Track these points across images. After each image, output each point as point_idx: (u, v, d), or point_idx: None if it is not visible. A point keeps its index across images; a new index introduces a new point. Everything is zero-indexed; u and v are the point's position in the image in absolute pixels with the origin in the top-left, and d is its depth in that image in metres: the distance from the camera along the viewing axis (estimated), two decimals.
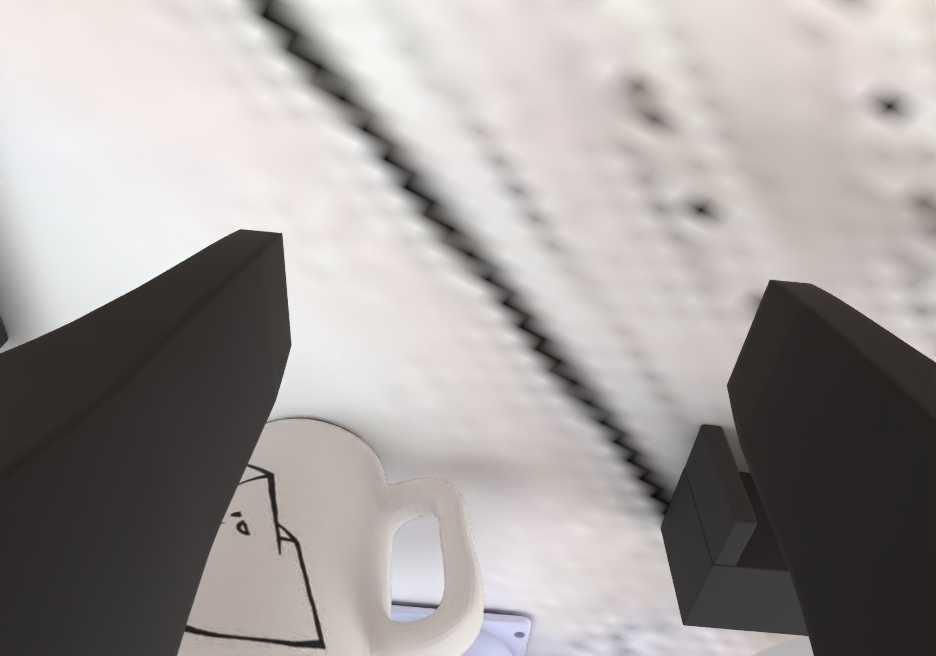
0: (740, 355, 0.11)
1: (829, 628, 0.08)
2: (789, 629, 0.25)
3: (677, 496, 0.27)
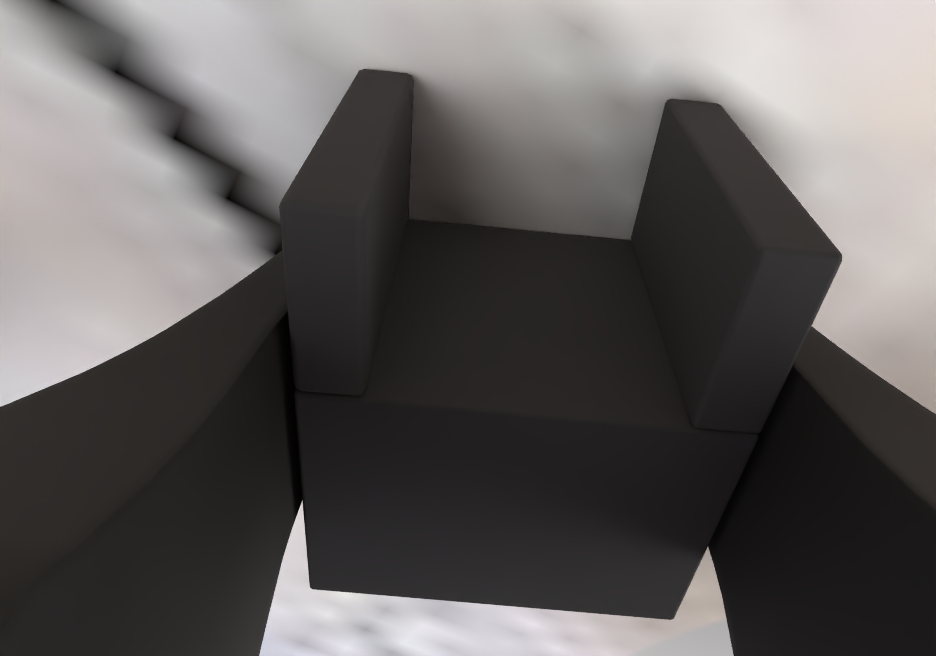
0: None
1: (745, 621, 0.08)
2: (585, 599, 0.10)
3: None
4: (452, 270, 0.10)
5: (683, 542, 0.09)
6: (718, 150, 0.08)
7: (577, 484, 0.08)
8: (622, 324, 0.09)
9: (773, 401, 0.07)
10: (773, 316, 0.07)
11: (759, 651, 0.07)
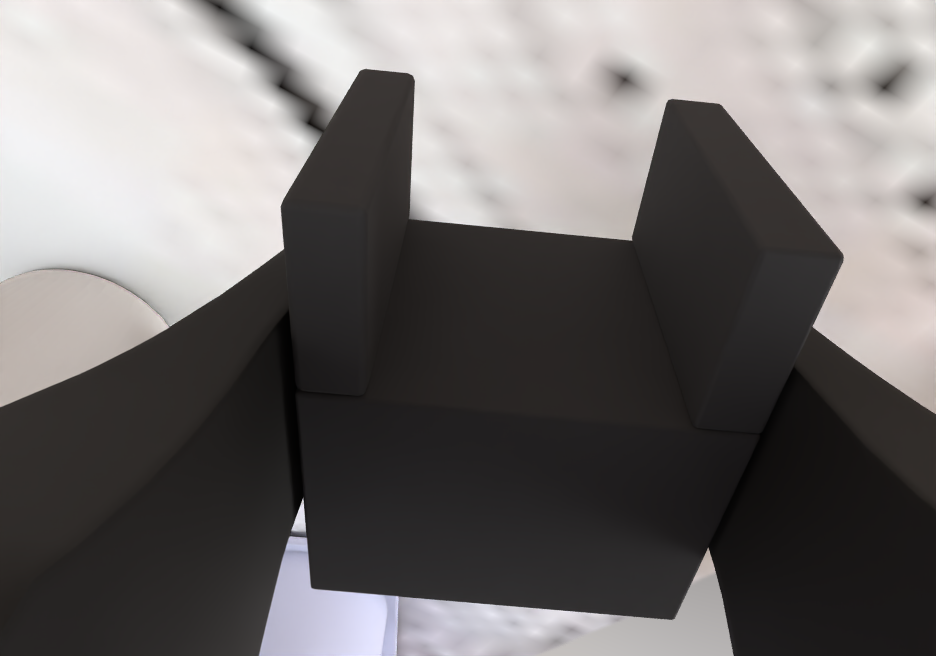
0: None
1: (745, 621, 0.08)
2: (586, 599, 0.10)
3: None
4: (453, 270, 0.10)
5: (684, 542, 0.09)
6: (719, 150, 0.08)
7: (578, 485, 0.08)
8: (623, 324, 0.09)
9: (774, 401, 0.07)
10: (774, 316, 0.07)
11: (759, 651, 0.07)
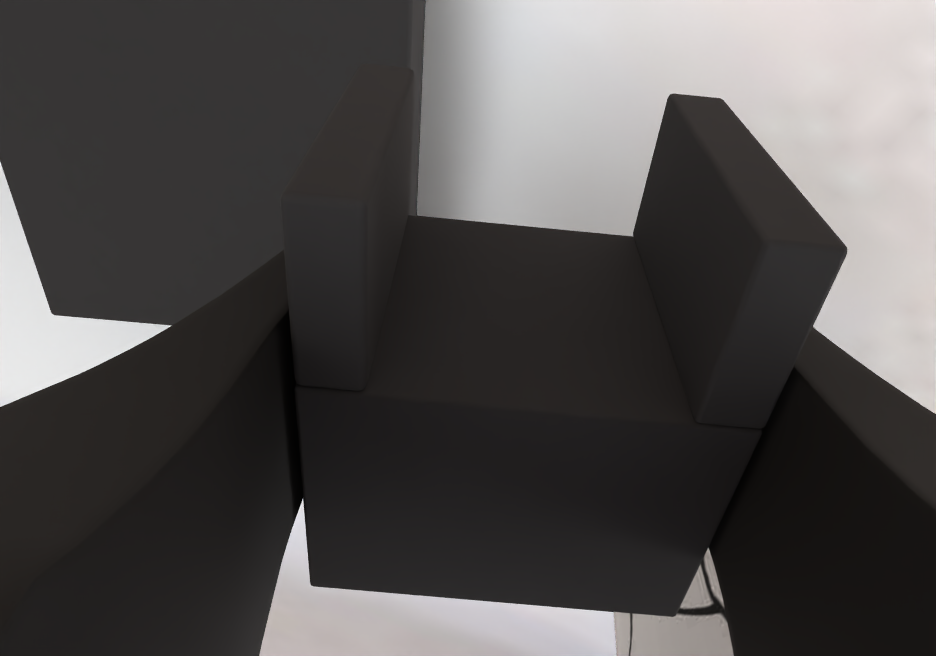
0: None
1: (745, 621, 0.08)
2: (587, 596, 0.09)
3: None
4: (453, 266, 0.10)
5: (686, 539, 0.09)
6: (720, 143, 0.08)
7: (580, 480, 0.08)
8: (624, 320, 0.09)
9: (777, 396, 0.07)
10: (777, 310, 0.07)
11: (759, 651, 0.07)
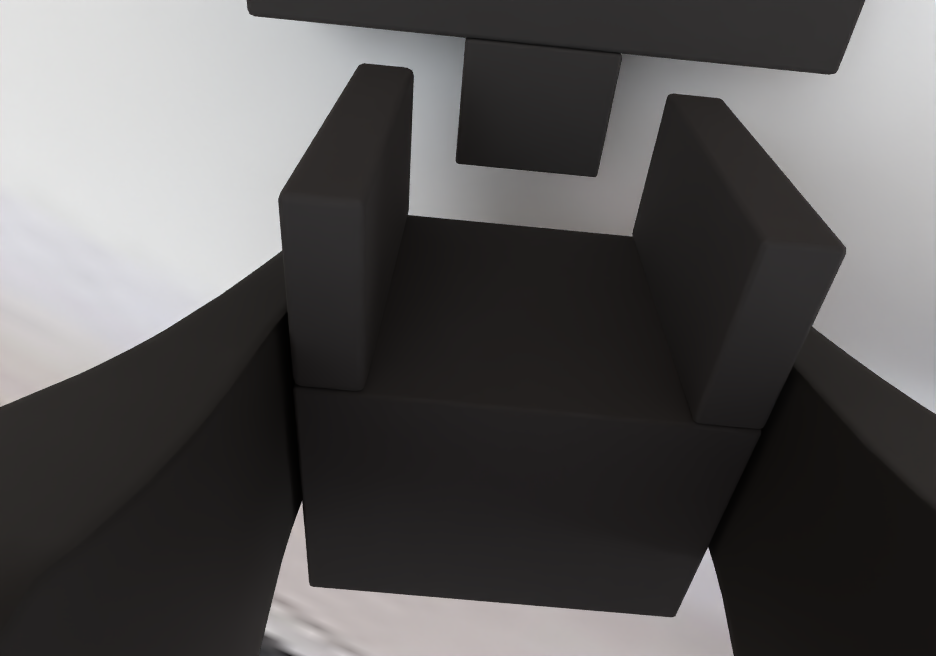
0: None
1: (745, 621, 0.08)
2: (586, 597, 0.09)
3: None
4: (452, 266, 0.10)
5: (685, 539, 0.09)
6: (720, 143, 0.08)
7: (578, 481, 0.08)
8: (623, 320, 0.09)
9: (776, 396, 0.07)
10: (776, 310, 0.07)
11: (759, 651, 0.07)
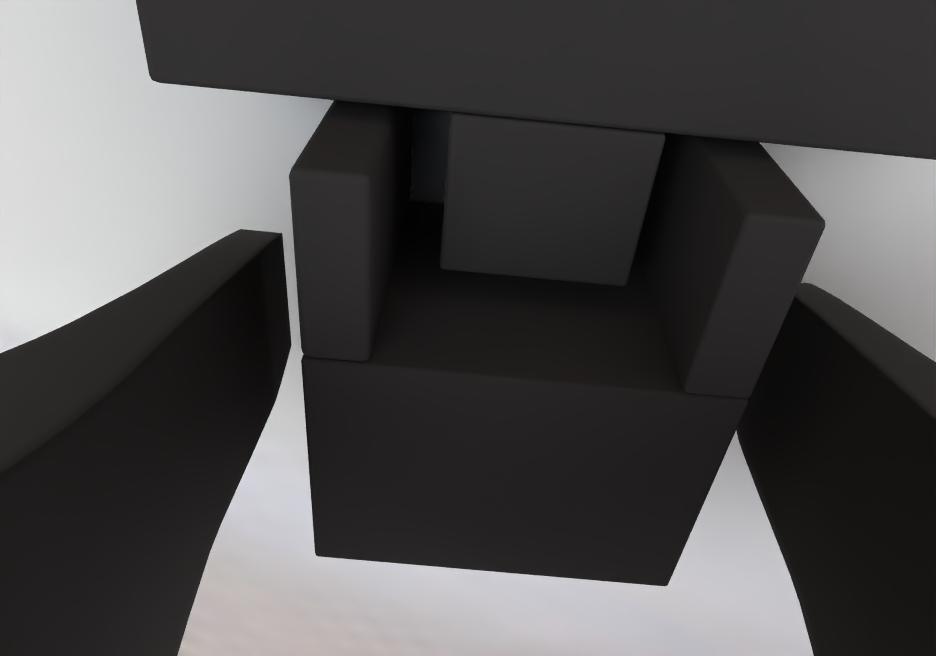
0: None
1: (829, 628, 0.08)
2: (582, 566, 0.10)
3: None
4: None
5: (676, 507, 0.09)
6: None
7: (573, 450, 0.08)
8: (617, 298, 0.09)
9: (761, 366, 0.08)
10: (760, 282, 0.07)
11: None
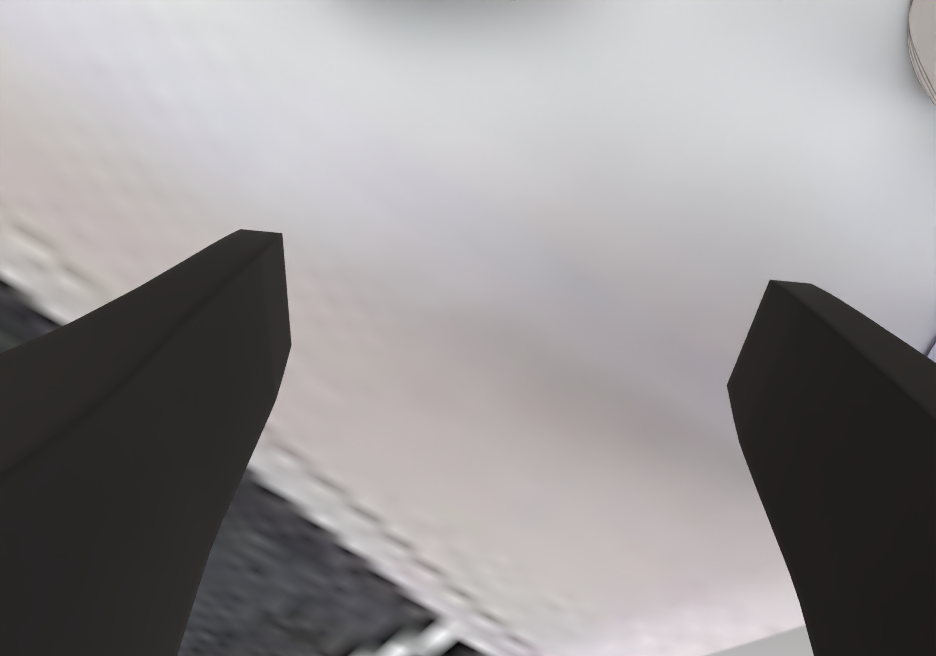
0: (740, 355, 0.11)
1: (829, 628, 0.08)
2: None
3: None
4: None
5: None
6: None
7: None
8: None
9: None
10: None
11: None
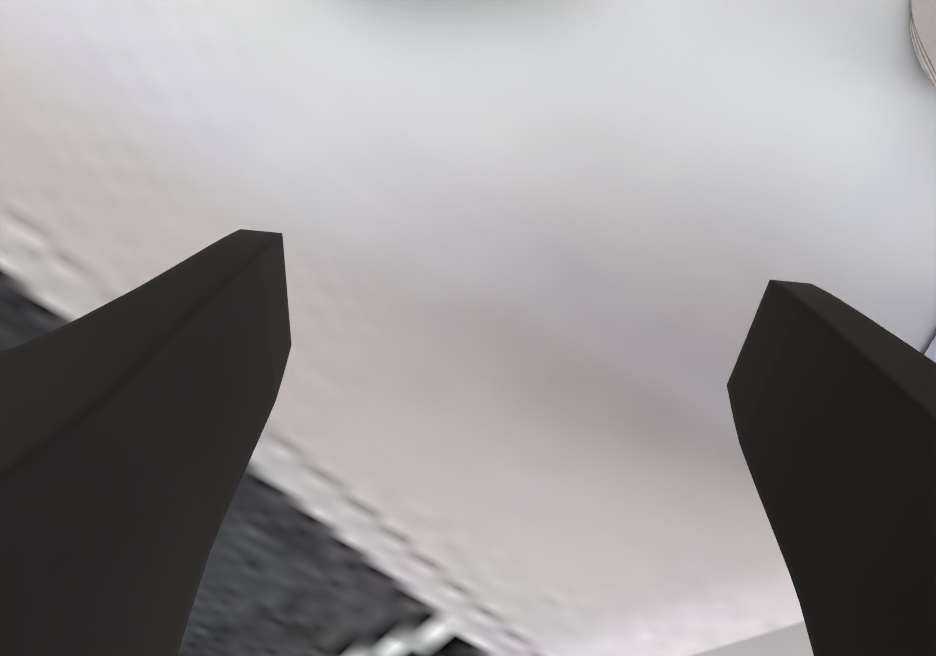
0: (740, 355, 0.11)
1: (829, 628, 0.08)
2: None
3: None
4: None
5: None
6: None
7: None
8: None
9: None
10: None
11: None
